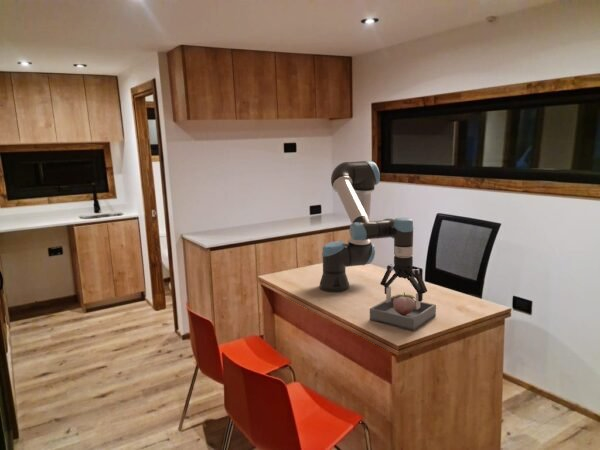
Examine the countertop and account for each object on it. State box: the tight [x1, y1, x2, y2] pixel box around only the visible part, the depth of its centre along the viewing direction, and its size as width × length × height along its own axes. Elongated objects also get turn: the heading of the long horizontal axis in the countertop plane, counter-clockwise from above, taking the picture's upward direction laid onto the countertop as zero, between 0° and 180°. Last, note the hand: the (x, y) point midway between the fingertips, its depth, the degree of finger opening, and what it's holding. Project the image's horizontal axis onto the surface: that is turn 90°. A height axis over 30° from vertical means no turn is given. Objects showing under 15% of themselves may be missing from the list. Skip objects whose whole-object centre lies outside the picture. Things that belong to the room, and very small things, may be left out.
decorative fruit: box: [393, 292, 416, 316], centre depth 190 cm, size 9×8×10 cm
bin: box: [369, 295, 437, 333], centre depth 190 cm, size 20×20×5 cm
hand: (403, 305), depth 190 cm, fingers open, 13 cm apart
